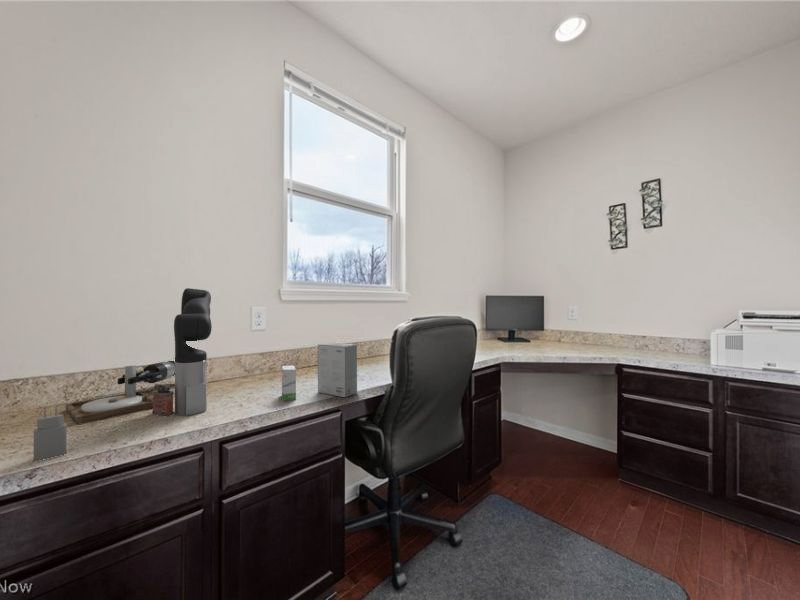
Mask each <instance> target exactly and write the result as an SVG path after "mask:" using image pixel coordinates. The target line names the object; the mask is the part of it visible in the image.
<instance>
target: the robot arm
mask: <svg viewBox="0 0 800 600" xmlns="http://www.w3.org/2000/svg"><path fill="white" fill-rule="evenodd" d="M211 301H212V295H211V293H210V292H209V290H206V289H199V288H198V289H197V288H189V287H188V288H185V289H184V290H183V292H182V296H181V303H180V304H181V305H180V307H181V308H180V314H176V316H174V320H173V335H174V358H175V362H174V361H170V360H167V362H166V361H161V362H155V363H152V364H148V365H146V366H145V367H144V368H143V369H142V370H139V371H136V377H132V378H129V379H128V384H134V383H136V384H138V383H148V384H157V383H158V382H162V381H165V380H167V379H170V378H173V377H174V414H175V415H178V416H185V417H187V416H191V415H192V416H193V415H195V414H199V413H200V414H201V413H205V412H206V411H207V407H208V406H207V405H208V404H207V401H208V399H207V398H208V397H207V393H208V392H207V389H208V388H207V384H208V383H207V381H208V380H207V376H208V375H207V372H208V370H207V369H208V368H207V366H208V364H207V363H208V361H207V360H208V359H207V358H208V357H207V356H208V353H207V352H206V351H205V350H203V349H198V348H197V349H195V348H192V347H190V346H188V345H187V344H186V341H197V340H198V341H204V340H205V341H206V340H207V339H208V338H210V336H211V333H212V321H211ZM174 375H175V376H174ZM172 376H173V377H172ZM122 384H124V385H125V373H124V374H123V375H122V377H118V378H117V385H122Z"/></svg>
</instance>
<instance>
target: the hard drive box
mask: <svg viewBox="0 0 800 600" xmlns="http://www.w3.org/2000/svg"><path fill="white" fill-rule="evenodd" d="M317 392H318V393H322V394H325V395H331V396H336V397H341V398H347V397H350V396H353V395H356V394H358V345H357V344H354V343H352V344H351V343H337V342H336V343H335V342H328V343H319V344H317Z"/></svg>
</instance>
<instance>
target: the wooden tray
mask: <svg viewBox="0 0 800 600" xmlns="http://www.w3.org/2000/svg"><path fill="white" fill-rule="evenodd" d="M136 395H137V396H141V397H142V403H140V404H137V405H132V406H127V407H122V408H117V409H112V410H107V411H102V412H97V413H92V414H89V413H83V412H81V406H82V405H83V404H86V403H88V402H91V401H94V400H98V399H103V398H108V397H115V396H125V393H122V394H117V395H110V396H105V397H99V398H95V399H88V400H83V401H77V402H70V403H66V404H65V412H66V411H67V412H68V413H67V412H66V413H67V414H68V416H69V415H70V416H69V417H70V418H71V419H73V420H72V421H73V422H74V424H75V425H76V426H78V425H82V424H87V423H90V422H96V421H100V420H106V419H110V418H114V417H119V416H124V415H128V414H129V415H130V414H133V413H137V412H143V411H149V410H153V396H151V395H149V394H147V393H146V392H143V391H142V390H141V391H136ZM77 424H78V425H77Z"/></svg>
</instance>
